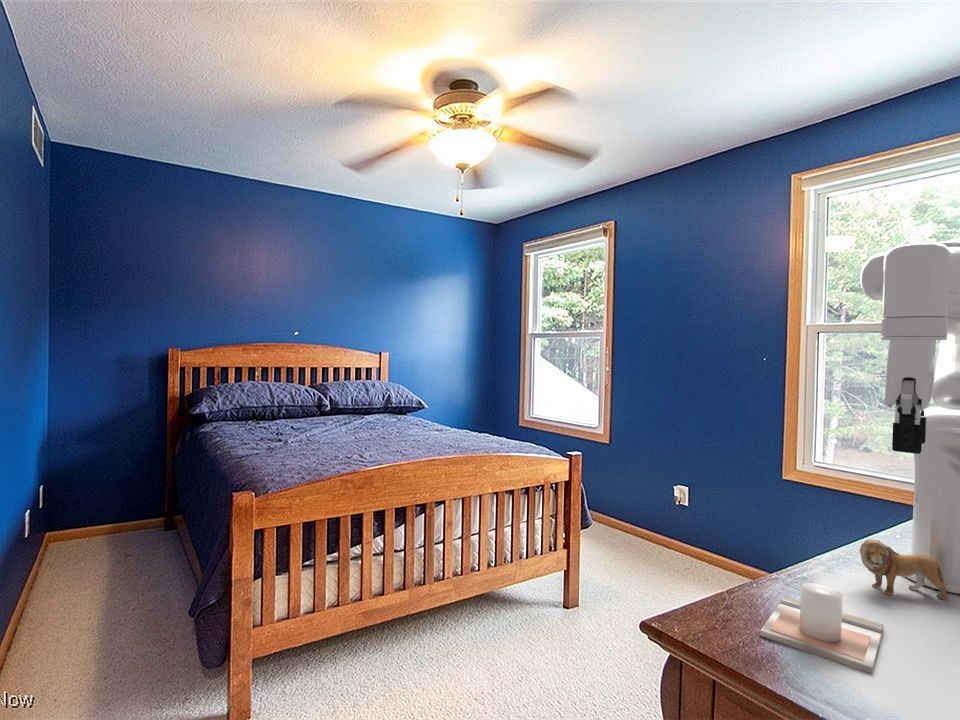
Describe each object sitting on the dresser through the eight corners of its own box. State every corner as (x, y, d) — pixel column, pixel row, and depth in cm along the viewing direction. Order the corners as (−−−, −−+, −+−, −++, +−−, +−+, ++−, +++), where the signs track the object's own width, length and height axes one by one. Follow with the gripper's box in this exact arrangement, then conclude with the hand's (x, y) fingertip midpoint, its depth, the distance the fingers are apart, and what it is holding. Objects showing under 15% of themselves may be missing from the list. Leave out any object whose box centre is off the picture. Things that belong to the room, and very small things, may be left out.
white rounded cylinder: (802, 620, 80) (804, 580, 80) (843, 632, 77) (844, 590, 77) (796, 632, 76) (798, 590, 76) (838, 646, 73) (840, 601, 73)
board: (784, 600, 88) (785, 595, 88) (883, 629, 80) (883, 623, 80) (760, 635, 77) (760, 629, 77) (871, 673, 69) (872, 666, 69)
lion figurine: (871, 598, 90) (873, 545, 90) (849, 584, 96) (852, 534, 96) (959, 601, 90) (962, 547, 90) (933, 587, 96) (935, 536, 95)
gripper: (887, 331, 88) (884, 436, 88) (874, 329, 75) (870, 452, 75) (948, 331, 83) (944, 442, 83) (945, 329, 70) (940, 460, 70)
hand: (909, 447), depth 79 cm, fingers open, 9 cm apart
